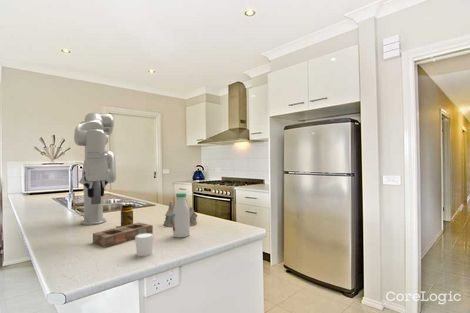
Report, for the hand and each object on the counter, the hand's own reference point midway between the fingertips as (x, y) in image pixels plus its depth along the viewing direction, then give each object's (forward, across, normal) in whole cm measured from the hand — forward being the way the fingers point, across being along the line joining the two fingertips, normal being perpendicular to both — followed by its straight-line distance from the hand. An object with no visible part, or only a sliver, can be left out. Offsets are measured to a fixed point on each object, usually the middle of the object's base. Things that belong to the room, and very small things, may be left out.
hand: (96, 196), depth 117 cm
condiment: (+20, -19, -7) cm, 28 cm away
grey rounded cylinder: (+3, 0, 0) cm, 3 cm away
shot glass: (+20, -2, +34) cm, 39 cm away
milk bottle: (+20, -26, +28) cm, 43 cm away
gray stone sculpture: (+20, -40, +12) cm, 46 cm away
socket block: (+19, -8, +9) cm, 23 cm away
